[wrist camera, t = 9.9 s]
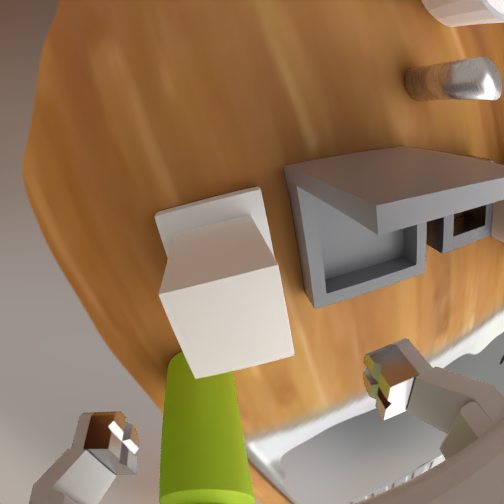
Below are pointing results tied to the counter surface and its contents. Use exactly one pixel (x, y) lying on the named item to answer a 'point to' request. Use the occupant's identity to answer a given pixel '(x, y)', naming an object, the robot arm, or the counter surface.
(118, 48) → the counter surface
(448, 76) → the rod
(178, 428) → the soap dispenser
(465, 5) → the white faceted tapered cup
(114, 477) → the robot arm
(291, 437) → the counter surface
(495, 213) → the lumpy-topped squat cylinder
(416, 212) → the grey device stand
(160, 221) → the plate
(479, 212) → the rod bracket
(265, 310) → the block
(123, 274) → the counter surface
